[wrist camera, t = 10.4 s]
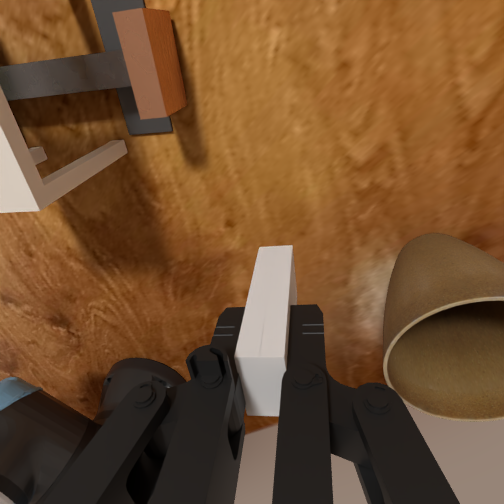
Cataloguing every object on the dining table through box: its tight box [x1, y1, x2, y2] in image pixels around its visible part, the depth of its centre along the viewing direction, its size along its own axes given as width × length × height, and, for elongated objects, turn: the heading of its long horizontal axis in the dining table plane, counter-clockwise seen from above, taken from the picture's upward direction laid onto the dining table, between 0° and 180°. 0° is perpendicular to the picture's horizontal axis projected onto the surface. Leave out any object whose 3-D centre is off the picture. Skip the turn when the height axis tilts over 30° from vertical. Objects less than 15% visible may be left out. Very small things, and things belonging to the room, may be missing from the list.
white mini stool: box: [0, 0, 173, 213], centre depth 30 cm, size 17×18×16 cm
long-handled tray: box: [0, 8, 187, 120], centre depth 35 cm, size 12×33×6 cm, turn 97°
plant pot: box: [383, 233, 504, 422], centre depth 36 cm, size 15×15×16 cm
